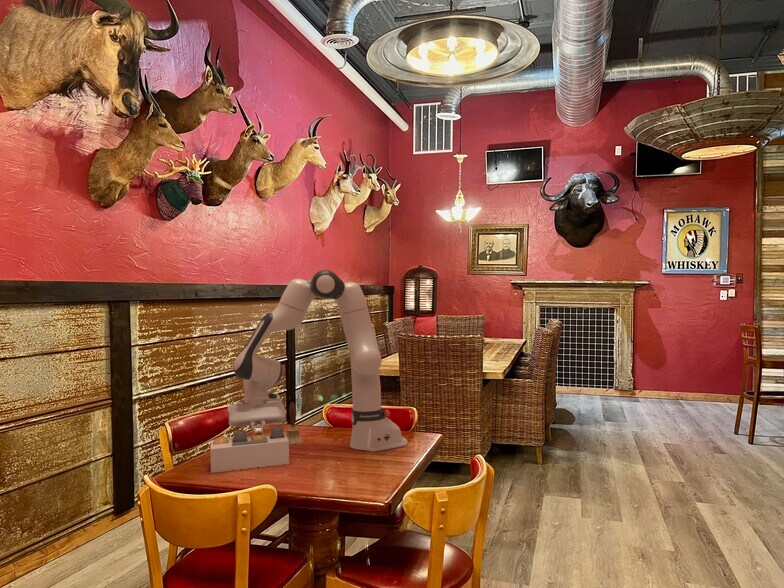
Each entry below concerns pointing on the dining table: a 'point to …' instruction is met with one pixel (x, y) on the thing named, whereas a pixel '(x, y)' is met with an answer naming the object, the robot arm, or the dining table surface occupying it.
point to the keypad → (249, 453)
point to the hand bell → (293, 428)
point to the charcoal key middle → (239, 436)
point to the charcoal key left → (276, 432)
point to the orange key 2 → (258, 437)
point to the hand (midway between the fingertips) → (258, 433)
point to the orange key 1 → (220, 441)
